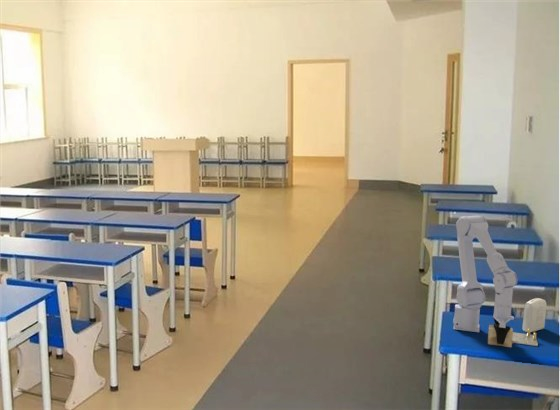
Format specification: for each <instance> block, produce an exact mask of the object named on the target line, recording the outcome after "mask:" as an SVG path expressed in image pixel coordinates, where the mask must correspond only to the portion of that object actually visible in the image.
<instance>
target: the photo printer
mask: <svg viewBox="0 0 560 410" xmlns="http://www.w3.org/2000/svg"><path fill="white" fill-rule="evenodd" d="M547 304H548V303H547V302H546V300H545V299H544V298H543V299H542V298H540V297H539V298H538V297H535V298H533V299H530V300H529V301H527V302H525V303H524V306H523V317H522V327H521V329H522V330H523V332H525V333H527V331H528V329H531V330H530V333H535V332H537V331H539V330H544V329H545V326H546V315H547V306H548V305H547Z"/></svg>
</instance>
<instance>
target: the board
mask: <svg viewBox="0 0 560 410" xmlns="http://www.w3.org/2000/svg"><path fill="white" fill-rule="evenodd" d="M513 332H514V329H513V327H510V330H509V332H508V333H507V335H506V338H505V342H504V344H497V338H496V331H495V328H494V324H489V325H488V333H487V334H488V335H487V345H492V346H500V347H506V348H512V347H513V346H512V345H513V343H512V338H513Z"/></svg>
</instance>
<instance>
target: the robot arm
mask: <svg viewBox="0 0 560 410" xmlns="http://www.w3.org/2000/svg"><path fill="white" fill-rule="evenodd" d="M455 226H456V227H455V228H456V235H457V236H456V238H457V246H458V254H459V255H458V256H459V264H460V273H461V280H462V281H461V282H460V284H458V286H457V287H456V290H457V291H456V292H457V293H456V302H457V304H455V305H454V316H453V320H452V323H453V330H459V331H464V332H474V333H480V323H479V322H480V310H481V308H482V306H483V304H484V303H485V301H486V294H485V291H484V289H483V288H484V287H483V284H481V283H480V282H479V281H478V279H477V278H478V277H477V270H476V260H475V253H474V245H473V240H474V239H475V238H476V239H477V241H478V242H479V243H480V245H481V247H482V249H483V250H484V251H485V253H486V254H485V255H487V256H486V262H487V265H488V267H489V269H490V270H491V272H492V275H493V278H492V281H493V282H492V283H493V286H494V291H495V296H494V308H493V315H492V319H493V322H494V323H493V325H494V328H495V331H496V338H497V344H504V342H505V338H506V335H507V333H508V332H509V330H510V328H511V326H507V324H508V323H509V322H510V321H511V320H512V321H513V320H514V319H515V317H514V316H513V315H512V305H513V294H514V287H515V286H517V284H518V281H519V280H518V276H517V273H516V272H515V271H513V270H512V269H511V268H510V267H509V266H508V265H507V262H506V261H505V258H504V256H503V255H502V253H501V252H498V251H497V250H496V247H495V245H494V242H493V240H492V238H491V236H490V233H489V231H488V229H489V223H488V221H487V218H486V217H485V216H484V215H481V214H478V215H470V216H469V215H467V216H464V215H463V216H462V215H461V216H460V217H459V218H458V220H457V221H456V222H455Z"/></svg>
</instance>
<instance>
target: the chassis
mask: <svg viewBox="0 0 560 410" xmlns="http://www.w3.org/2000/svg"><path fill="white" fill-rule="evenodd" d="M530 330H531V329H528V331H527V332H526V333H521V332H514V331H513V338H512V344H518V345H525V346H526V345H527V346H533V347H538V345H539V343H538V340H537V332H532V333H533V334H531V332H530Z"/></svg>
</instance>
